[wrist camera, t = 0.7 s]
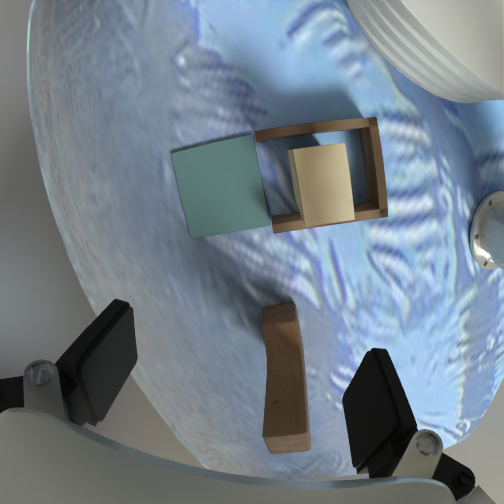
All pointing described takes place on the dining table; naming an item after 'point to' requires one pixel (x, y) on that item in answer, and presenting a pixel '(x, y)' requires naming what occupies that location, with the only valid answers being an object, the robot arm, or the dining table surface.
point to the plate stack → (440, 43)
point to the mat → (221, 187)
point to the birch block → (322, 184)
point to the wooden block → (285, 382)
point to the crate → (371, 161)
